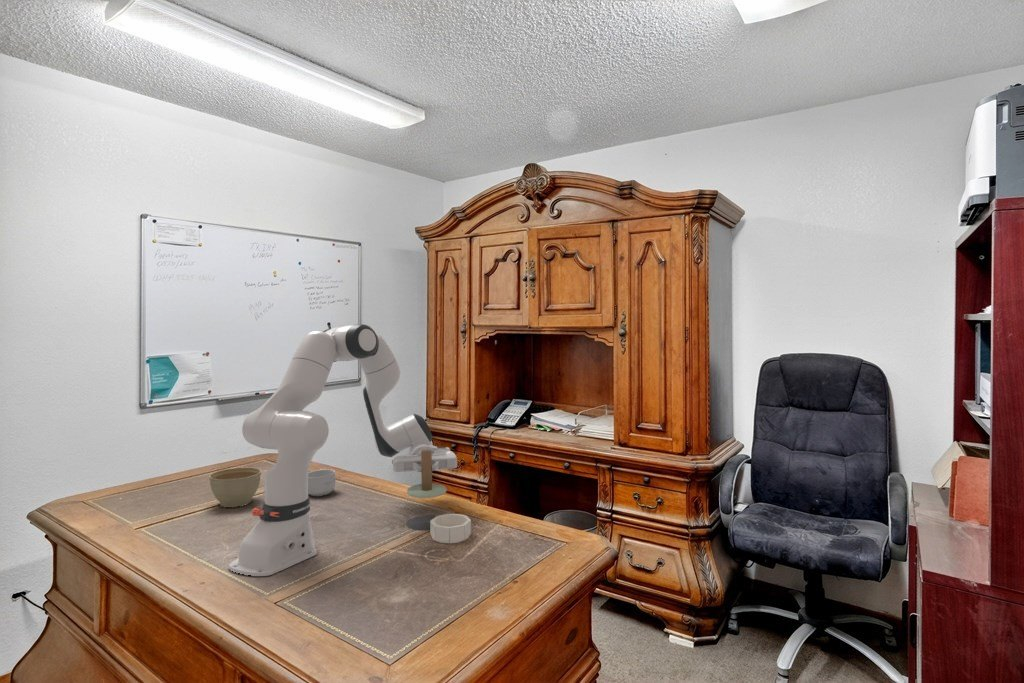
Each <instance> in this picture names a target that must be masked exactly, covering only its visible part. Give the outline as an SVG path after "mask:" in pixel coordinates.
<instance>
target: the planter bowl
mask: <svg viewBox="0 0 1024 683" xmlns="http://www.w3.org/2000/svg"><path fill="white" fill-rule="evenodd" d="M261 476H262V470H261V469H260V468H257V467H232V468H227V469H221V470H218V471H215V472H213V473H211V474H209V476H208V477H209V481H210V490H211V492H212V494H213V495H214V497H215V499H216V500H217V501H218V502H219V504H220V505H219V506H220V507H222V506H224V507H223V508H226V507H232V508H234V507H235V508H237V507H236V506H240V507H243V506H242V505H244V506H246V505H245V504H247V505H248V503H249V502H250V503H251V502H252V499H253V498H254V495H255V494H256V492H257V491H258V489H259V485H260V483H261ZM250 503H249V504H250Z"/></svg>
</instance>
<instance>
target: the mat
mask: <svg viewBox="0 0 1024 683" xmlns="http://www.w3.org/2000/svg"><path fill="white" fill-rule="evenodd" d="M436 516H438V515H434V514H429V515H428V514H427V515H425V514H424V515H418V516H415V517H412V518H410V519H409V520H407V521H406V523H405V526H406V527H407V528H409V529H411V530H414V531H421V532H422V531H423V532H425V531H427V532H428V531H430V521H431V520H432V519H434V518H435V517H436Z"/></svg>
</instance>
